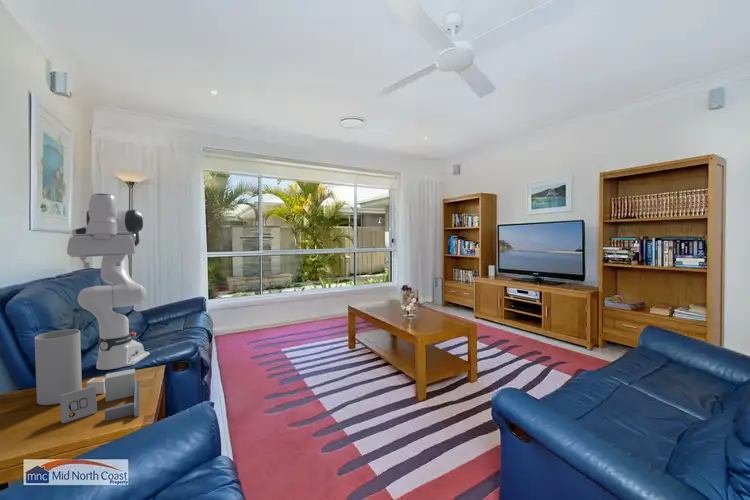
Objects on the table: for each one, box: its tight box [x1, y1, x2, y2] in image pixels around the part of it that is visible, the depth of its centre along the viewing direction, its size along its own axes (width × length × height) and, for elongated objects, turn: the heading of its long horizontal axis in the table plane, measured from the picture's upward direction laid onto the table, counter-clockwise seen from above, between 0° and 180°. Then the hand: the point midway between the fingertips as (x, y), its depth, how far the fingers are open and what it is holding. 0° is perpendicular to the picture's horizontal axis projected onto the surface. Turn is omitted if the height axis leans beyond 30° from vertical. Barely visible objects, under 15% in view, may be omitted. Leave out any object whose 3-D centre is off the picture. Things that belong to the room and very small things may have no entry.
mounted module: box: [104, 368, 136, 403], centre depth 127 cm, size 5×9×9 cm, turn 126°
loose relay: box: [85, 376, 106, 395], centre depth 131 cm, size 4×6×5 cm, turn 101°
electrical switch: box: [59, 386, 98, 424], centre depth 113 cm, size 9×5×9 cm, turn 141°
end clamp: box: [104, 401, 134, 422], centre depth 113 cm, size 2×8×4 cm, turn 126°
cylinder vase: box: [34, 329, 83, 406], centre depth 125 cm, size 12×12×25 cm
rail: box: [133, 379, 141, 418], centre depth 123 cm, size 24×2×4 cm, turn 36°
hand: (102, 266), depth 124 cm, fingers open, 8 cm apart
